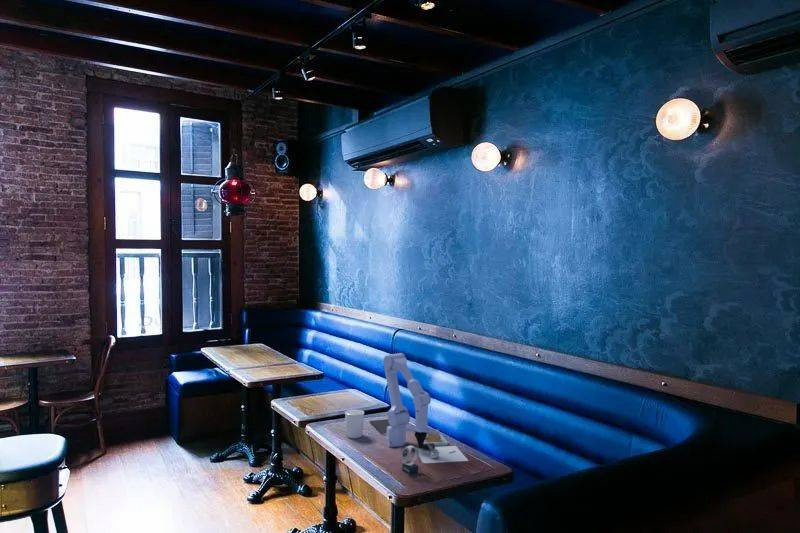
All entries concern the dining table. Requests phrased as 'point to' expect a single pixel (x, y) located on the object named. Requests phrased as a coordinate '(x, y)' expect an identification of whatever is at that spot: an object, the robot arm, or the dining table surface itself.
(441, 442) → the parts tray
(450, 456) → the crank plate
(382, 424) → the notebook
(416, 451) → the watch
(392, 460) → the dining table surface
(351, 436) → the candle holder
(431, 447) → the crank
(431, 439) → the block
